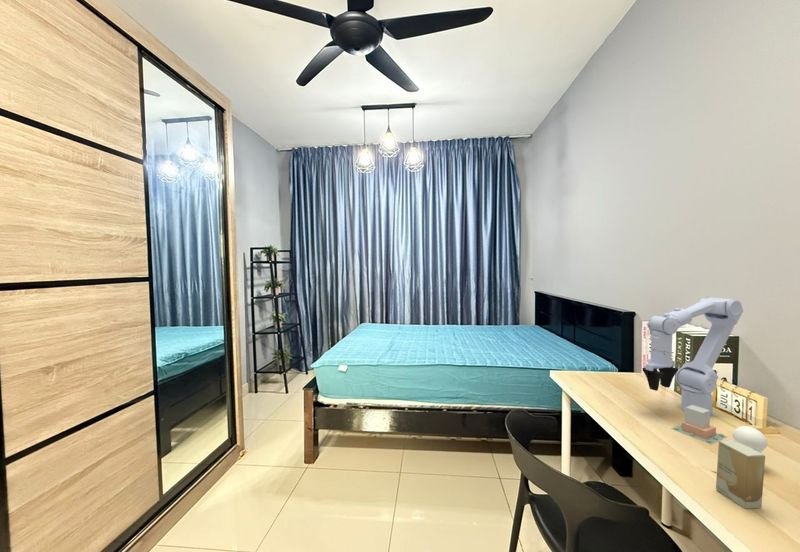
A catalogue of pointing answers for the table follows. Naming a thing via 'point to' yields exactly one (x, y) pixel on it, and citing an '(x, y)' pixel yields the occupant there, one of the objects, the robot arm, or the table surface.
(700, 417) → the grey brick
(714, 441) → the build plate
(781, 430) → the table surface
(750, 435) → the lightbulb
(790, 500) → the table surface
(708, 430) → the base brick
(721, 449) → the skincare box
